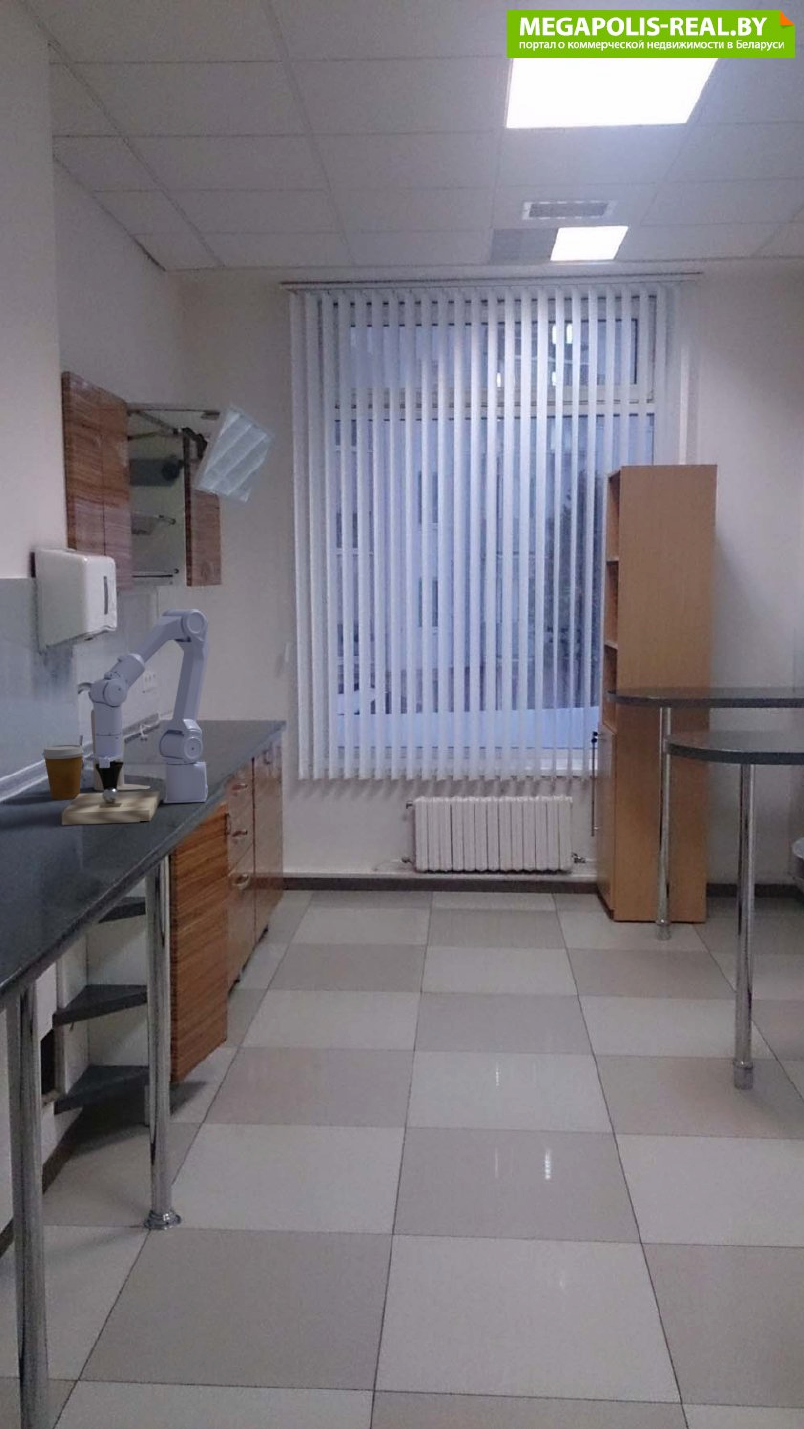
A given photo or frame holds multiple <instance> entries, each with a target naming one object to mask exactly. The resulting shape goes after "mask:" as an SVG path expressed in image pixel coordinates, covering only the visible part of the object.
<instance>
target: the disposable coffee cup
mask: <svg viewBox="0 0 804 1429" xmlns="http://www.w3.org/2000/svg"><path fill="white" fill-rule="evenodd" d="M84 753H85V750H84V749H83V745H80V744H57V745H55V744H54V745H50V746H45V747H44V748H43V752H42V753H41V755H42V756H43V758H44V760H45V761H44V762H45V769H46V772H47V779H48V784H49V790H50V795H51V799H53V800H57V801H63V800H66V801H67V800H74V799H75V798H76V797H77V796H78V795H79V794H81V793H80V792H81V777H82V767H83V756H84Z"/></svg>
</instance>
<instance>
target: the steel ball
mask: <svg viewBox="0 0 804 1429" xmlns="http://www.w3.org/2000/svg"><path fill="white" fill-rule="evenodd" d="M102 793H103V794H102V797H103V800H104V801H105V802H107V803H114V802H116V801H117V800H118V798H119V790H118V791H117V790H116V789H115V788H112V787H109V788H106V789H105V790H104V791H103V792H102Z"/></svg>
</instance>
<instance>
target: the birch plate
mask: <svg viewBox="0 0 804 1429" xmlns="http://www.w3.org/2000/svg"><path fill="white" fill-rule="evenodd" d="M118 793H119V798H118V800H117V801H116V802H114V803H107V802H105V801H104V800H103V797H102V794H103V792H95V793H94V792H93V793H91V792H90V793H80V794H79V795H78V796H77V797H76V798H74V799H72V801H71V802H70V804H68V806H67V807H66V808H65V809H64V810H63V811H62V812H61V824H62V825H63V826H65V825H66V826H67V825H69V826H71V825H73V826H74V825H96V824H121V823H122V824H123V823H141V822H140V821H150V822H151V821H152V818H153V816H154V814H155V813H156V811H157V809H158V806H159V805H160V803H161V792H160V790H155V791H154V790H153V791H151V790H150V791H149V790H148V791H126V792H125V791H122V792H119V791H118Z"/></svg>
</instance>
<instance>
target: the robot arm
mask: <svg viewBox="0 0 804 1429" xmlns="http://www.w3.org/2000/svg"><path fill="white" fill-rule="evenodd" d="M209 623H210V622H209V621H208V619H207V617H206V616H205V615H204V613H203V612H202V611H201V610H200V609H196V608H192V609H191V608H190V609H176V608H169V609H166V610H165V611H164V612H163V613H162V614H161V616H159V617H158V618H157V619H156V622H155V624H154V626H153V627H152V629H151V630H150V631H149V632H148V634H146V636H145V638H143V639H142V641H141V643H139V645H138V646H137V647H136V649H135V650H134V651H133V652H132V653H124V654H123V655H119V656H118V657H117V658H116V660H117V662H115V664H114V665H113V666H112V667H111V668H110V669H109V670H108V671H106V672H105V673H104V674H103V678H99V679H96V680H95V681H93V683H92V684H91V687H90V689H89V690H90V691H88V693H87V694H88V695H87V696H88V698H89V701H90V702H91V703H92V705H93V709H94V711H95V746H96V754H93V753H90V754H89V758H90V759H93V758H96V759H97V760H98V761H99V763H97V764H96V765H95V767H96V769H97V771H98V773H99V775H100V777H101V780H102V785H103V789H104V790H105V789H106V788H109V787H112V788H115V789H116V790H117V784H118V778H119V774H120V771H121V769H122V766H123V767H124V762H125V761H123V762H115V760H117V759H120V758H123V759H124V755H125V753H124V754H123V748H122V733H123V717H122V712H123V711H122V710H123V709H122V708H123V707H122V704H123V703H125V702H126V700H127V697H128V692H129V690H130V689H131V687H132V686H133V685H134V684H135V683H136V682H137V680H139V678H140V677H141V676H142V675H143V674H144V673H145V670H146V667H145V666H146V663H147V662H148V661H149V660H150V659H151V658H152V657H153V656H154V655H155V654H156V653H157V652H158V651H159V650H160V649H161V648H162V647H163V646H164V645H165V644H166V643H168V642H169V641H173V642H175V643H177V644H178V645H179V647H180V648H181V650H182V651H183V656H182V663H181V669H180V675H179V679H178V685H177V690H176V697H175V702H174V708H173V714H172V718H171V720H169V721H168V722H167V723H166V724H165V725H164V728H163V732H162V735H161V736H160V737H159V739H158V742H157V749H158V753H159V755H160V756H161V757H162V758H163V762H164V765H165V766H164V767H165V768H164V769H165V770H164V771H165V792H166V794H165V795H166V796H165V798H164V799H163V804H175V803H176V804H178V803H179V804H180V803H181V804H182V803H204V802H205V803H206V801H207V798H208V793H209V789H208V788H209V786H208V784H207V782H208V780H207V764H206V763H207V762H205V761H199V758H200V757H202V754H203V751H204V744H203V741H202V740H203V738H202V736H203V731H202V730H203V729H201V728H200V726H199V725H198V723H197V721H198V715H199V708H200V704H201V697H202V692H203V686H204V681H205V675H206V670H207V665H208V664H207V663H208V658H209V652H210V644H209V643H210V642H209V637H208V630H209V629H208V628H209Z"/></svg>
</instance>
